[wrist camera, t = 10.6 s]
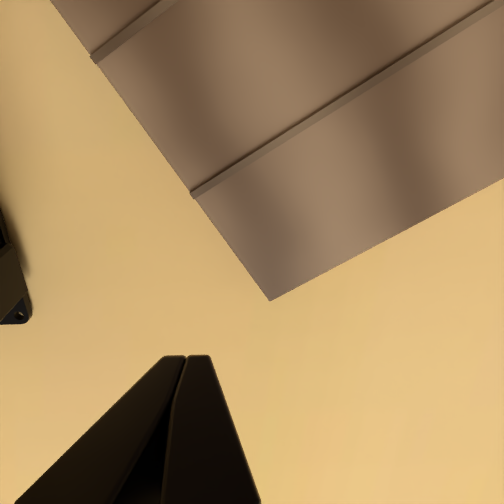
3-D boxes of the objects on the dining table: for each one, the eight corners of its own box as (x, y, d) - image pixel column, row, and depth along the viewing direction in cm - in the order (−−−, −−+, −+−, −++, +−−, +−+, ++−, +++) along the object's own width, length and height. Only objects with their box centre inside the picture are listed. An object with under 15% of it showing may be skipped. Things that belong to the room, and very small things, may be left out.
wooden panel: (269, 279, 22) (269, 306, 20) (-2, -100, 16) (-43, -122, 14) (605, 97, 18) (651, 106, 16) (428, -516, 12) (467, -640, 9)
